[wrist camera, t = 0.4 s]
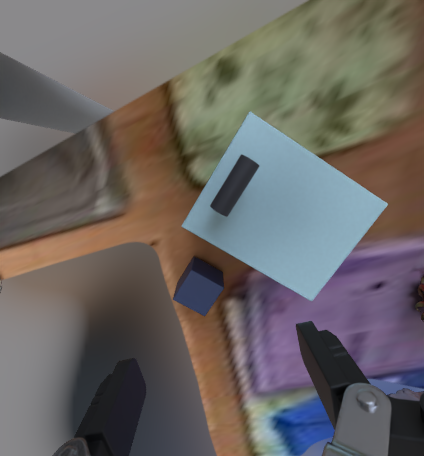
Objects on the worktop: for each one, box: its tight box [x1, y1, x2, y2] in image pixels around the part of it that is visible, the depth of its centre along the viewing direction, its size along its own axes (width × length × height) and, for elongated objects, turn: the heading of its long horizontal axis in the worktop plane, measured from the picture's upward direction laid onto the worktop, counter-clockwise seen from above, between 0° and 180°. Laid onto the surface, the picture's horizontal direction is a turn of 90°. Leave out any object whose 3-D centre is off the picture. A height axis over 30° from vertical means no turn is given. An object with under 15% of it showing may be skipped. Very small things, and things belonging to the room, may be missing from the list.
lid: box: [182, 112, 388, 301], centre depth 24 cm, size 16×13×5 cm
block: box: [173, 256, 224, 316], centre depth 36 cm, size 5×5×5 cm
